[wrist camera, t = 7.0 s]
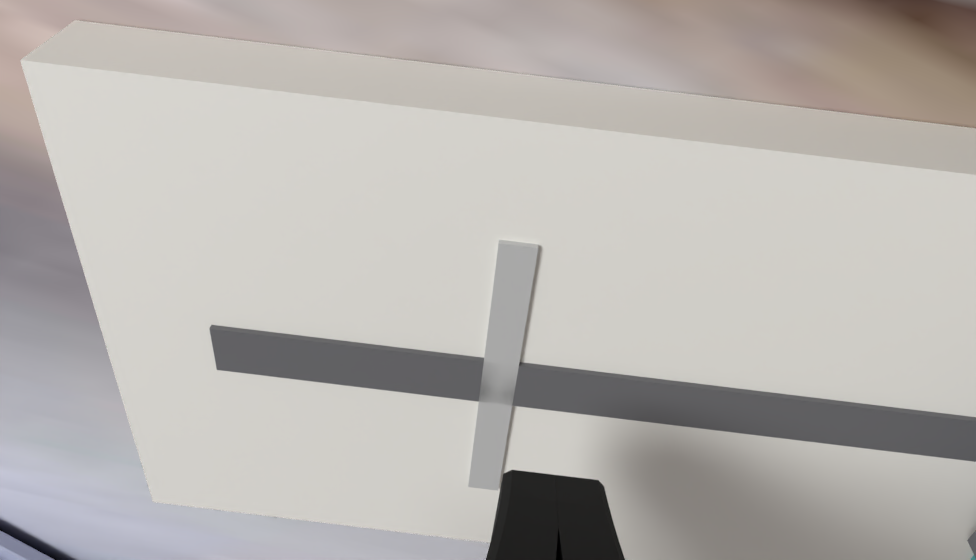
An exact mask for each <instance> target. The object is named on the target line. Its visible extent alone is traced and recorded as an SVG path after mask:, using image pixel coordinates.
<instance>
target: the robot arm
mask: <svg viewBox="0 0 976 560" xmlns="http://www.w3.org/2000/svg"><path fill="white" fill-rule="evenodd" d="M0 560H54V559H53V558H51V557H49V556H47V555H45V554H43V553H41V552H39V551H38V550H36V549H34V548H32V547H30V546H28V545H26V544H24V543H23V542H21V541H19V540H17V539H15V538H13V537H11V536H10V535H8V534H6V533H4V532H2V531H0ZM486 560H625V558H624V555H623V552H622V549H621V546H620V543H619V539H618V536H617V533H616V530H615V526H614V523H613V519H612V516H611V512H610V508H609V505H608V501H607V497H606V492H605V488H604V486H603V484H602V483H601V482H600V481H599V480H594V479H586V478H577V477H569V476H561V475H552V474H544V473H536V472H527V471H519V470H510V471H508V472H506V473H504V474H503V477H502V482H501V488H500V493H499V499H498V504H497V510H496V515H495V521H494V526H493V532H492V537H491V543H490V547H489V551H488V554H487V558H486Z"/></svg>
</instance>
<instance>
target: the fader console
mask: <svg viewBox="0 0 976 560" xmlns="http://www.w3.org/2000/svg"><path fill="white" fill-rule="evenodd" d="M20 61H21V64H22V68H23V71H24V74H25V78H26V81H27V84H28V88H29V91H30V94H31V98H32V101H33V104H34V108H35V111H36V114H37V118H38V121H39V124H40V128H41V131H42V134H43V138H44V141H45V144H46V148H47V151H48V154H49V158H50V161H51V164H52V168H53V171H54V174H55V177H56V181H57V184H58V187H59V191H60V194H61V197H62V201H63V204H64V207H65V211H66V214H67V217H68V221H69V224H70V227H71V231H72V234H73V237H74V241H75V244H76V247H77V251H78V254H79V257H80V261H81V264H82V267H83V271H84V274H85V277H86V281H87V284H88V287H89V291H90V294H91V297H92V301H93V304H94V307H95V311H96V314H97V317H98V321H99V324H100V327H101V331H102V334H103V337H104V341H105V344H106V347H107V351H108V354H109V357H110V361H111V364H112V367H113V371H114V374H115V377H116V381H117V384H118V387H119V391H120V394H121V397H122V401H123V404H124V407H125V411H126V414H127V417H128V421H129V424H130V427H131V431H132V434H133V437H134V440H135V444H136V447H137V450H138V454H139V457H140V460H141V464H142V467H143V470H144V474H145V477H146V480H147V484H148V487H149V490H150V494H151V497H152V500H153V502H157V503H165V504H173V505H181V506H190V507H198V508H206V509H214V510H222V511H231V512H239V513H247V514H255V515H264V516H272V517H280V518H288V519H296V520H305V521H313V522H321V523H329V524H338V525H346V526H354V527H362V528H371V529H379V530H387V531H395V532H403V533H412V534H420V535H428V536H436V537H445V538H453V539H461V540H469V541H478V542H486V543H491V537H492V532H493V526H494V521H495V515H496V510H497V504H498V499H499V493H500V488H501V482H502V477H503V474H504V473H506V472H508V471H510V470H519V471H527V472H536V473H544V474H552V475H561V476H569V477H577V478H586V479H594V480H599V481H600V482H601V483H602V484H603V486H604V488H605V492H606V497H607V501H608V505H609V508H610V512H611V516H612V519H613V523H614V526H615V530H616V533H617V536H618V539H619V543H620V546H621V549H622V552H623V555H624V558H625V559H626V560H976V558H975V556H974V554H973V552H972V550H971V547H970V545H969V543H968V541H967V540H968V539H969V538H970V536H971V535H972V534H973V533H974V532H975V531H976V128H968V127H960V126H952V125H943V124H935V123H927V122H918V121H910V120H902V119H893V118H885V117H877V116H868V115H860V114H852V113H843V112H835V111H827V110H818V109H810V108H802V107H793V106H785V105H777V104H768V103H760V102H752V101H744V100H735V99H727V98H719V97H710V96H702V95H694V94H685V93H677V92H669V91H660V90H652V89H644V88H635V87H627V86H619V85H610V84H602V83H594V82H585V81H577V80H569V79H560V78H552V77H544V76H535V75H527V74H519V73H510V72H502V71H494V70H486V69H477V68H469V67H461V66H452V65H444V64H436V63H427V62H419V61H411V60H402V59H394V58H386V57H377V56H369V55H361V54H352V53H344V52H336V51H327V50H319V49H311V48H302V47H294V46H286V45H277V44H269V43H261V42H252V41H244V40H236V39H228V38H219V37H211V36H203V35H194V34H186V33H178V32H169V31H161V30H153V29H144V28H136V27H128V26H119V25H111V24H103V23H94V22H86V21H78V20H75V21H73V22H72V23H71V24H69V25H68V26H67V27H65V28H64V29H62V30H61V31H60V32H58V33H57V34H55V35H54V36H53V37H51V38H50V39H49V40H47V41H46V42H44V43H43V44H42V45H40V46H39V47H38V48H36V49H35V50H33V51H32V52H31V53H29V54H28V55H26V56H25V57H24V58H22V59H21V60H20Z"/></svg>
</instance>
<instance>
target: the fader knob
mask: <svg viewBox="0 0 976 560" xmlns="http://www.w3.org/2000/svg"><path fill="white" fill-rule="evenodd" d="M967 541H968V543H969V545H970V547H971V550H972V552H973V554H974V556H975V558H976V531H975V532H974V533H973V534H972V535H971V536H970V538H969V539H968V540H967Z"/></svg>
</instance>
